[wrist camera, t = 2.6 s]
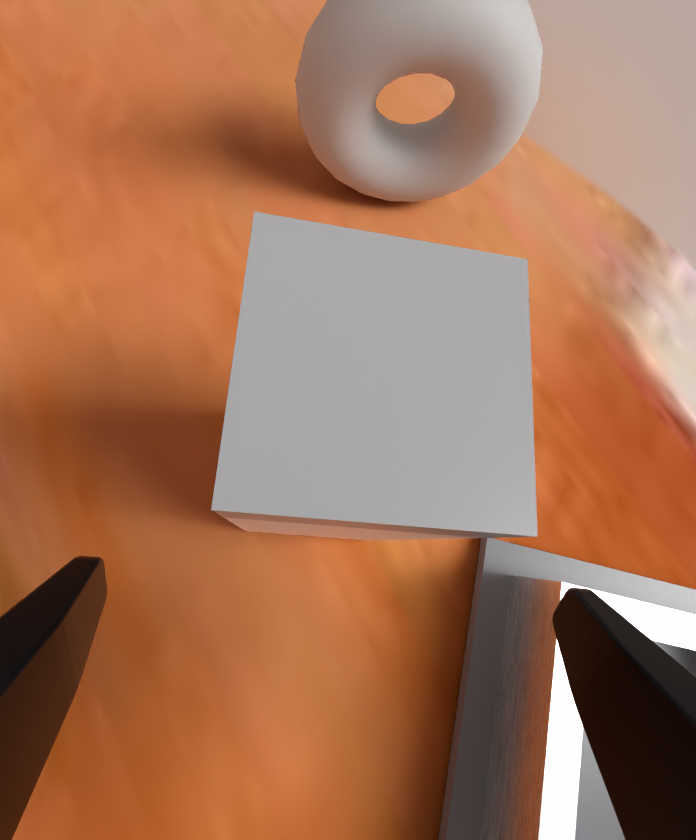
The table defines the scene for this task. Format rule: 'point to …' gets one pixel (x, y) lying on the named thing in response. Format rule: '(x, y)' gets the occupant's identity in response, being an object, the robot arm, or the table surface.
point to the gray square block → (378, 389)
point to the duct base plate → (481, 674)
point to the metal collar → (548, 713)
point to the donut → (406, 54)
